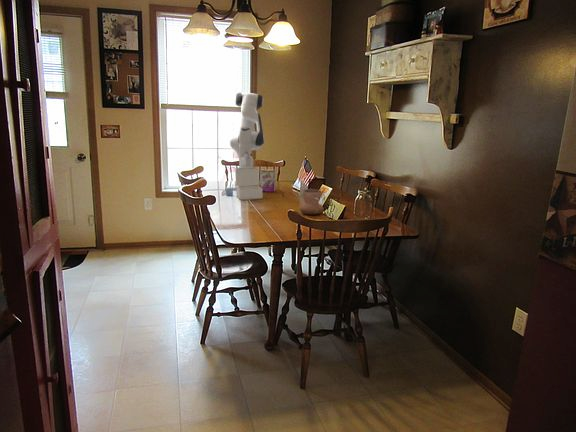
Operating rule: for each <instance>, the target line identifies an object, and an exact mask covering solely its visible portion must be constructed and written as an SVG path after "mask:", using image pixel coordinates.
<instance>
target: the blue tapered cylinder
mask: <svg viewBox="0 0 576 432" xmlns="http://www.w3.org/2000/svg"><path fill="white" fill-rule="evenodd" d="M233 195H234V188H233V187H231V186H230V187H225V196H228V197H230V196H233Z"/></svg>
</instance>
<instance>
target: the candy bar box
mask: <svg viewBox="0 0 576 432" xmlns="http://www.w3.org/2000/svg"><path fill="white" fill-rule="evenodd" d="M259 187H261V188H262V189H263V192H264V193H265V192H267V193H274V192H275V191H276V169H267V168H264V169H263V168H259Z"/></svg>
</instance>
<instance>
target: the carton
mask: <svg viewBox="0 0 576 432" xmlns="http://www.w3.org/2000/svg"><path fill="white" fill-rule="evenodd" d="M235 187H236V198H237V199H238V200H239V201H245V200H246V201H248V200H263V189H262V188H261V187H260V185H254V186H235Z"/></svg>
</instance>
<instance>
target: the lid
mask: <svg viewBox="0 0 576 432" xmlns="http://www.w3.org/2000/svg"><path fill="white" fill-rule="evenodd" d="M244 168H252V169H244ZM234 171H235V172H234V173H235V176H234V177H235V181H236V185H235V187H244V186H253V185H254V186H260V167H259V166H253V167H243V168H239V167H235V169H234Z"/></svg>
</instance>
